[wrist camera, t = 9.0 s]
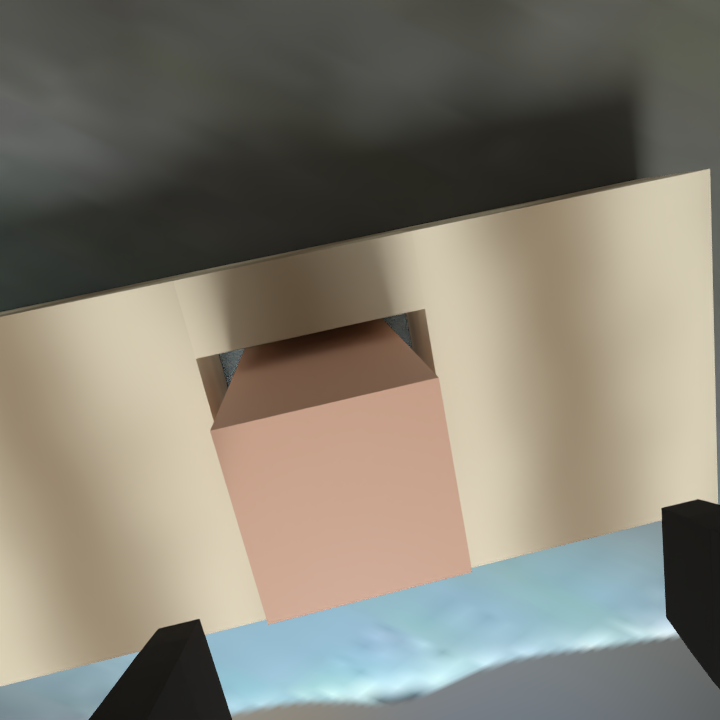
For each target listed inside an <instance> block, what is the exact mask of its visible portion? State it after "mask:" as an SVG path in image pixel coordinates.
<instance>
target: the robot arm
mask: <svg viewBox="0 0 720 720" xmlns="http://www.w3.org/2000/svg"><path fill="white" fill-rule="evenodd" d="M661 510H662V532H663V555H664V577H665V599H666V617H667V619H668V620H669V622H670V623H671V624H672V626H673V627H674V629H675V630H676V631H677V633H678V634H679V636H680V637H681V638H682V640H683V641H684V643H685V644H686V645H687V647H688V648H689V650H690V651H691V653H692V654H693V655H694V657H695V658H696V659H697V660H698V662H699V663H700V664H701V666H702V667H703V669H704V670H705V671H706V672H707V673H708V675H709V677H710V678H711V679H712V681H713V682H714V683H715V684H716V685H717V686H718V688H719V689H720V505H718V504H715V503H711V502H708V501H704V500H700V499H697V500H692V501H688V502H684V503H680V504H676V505H672V506H667V507H663V508H661ZM89 720H232V718H231V715H230V712H229V709H228V705H227V702H226V699H225V696H224V693H223V690H222V687H221V684H220V681H219V677H218V674H217V671H216V668H215V665H214V662H213V659H212V656H211V653H210V650H209V646H208V643H207V640H206V637H205V634H204V631H203V628H202V625H201V622H200V619H196V620H192V621H188V622H184V623H179V624H175V625H171V626H167V627H163V628H159V629H158V630H157V631H156V632H155V633H154V635H153V636H152V637H151V638H150V640H149V641H148V642H147V643H146V645H145V646H144V647H143V649H142V650H141V651H140V652H139V654H138V655H137V656H136V658H135V659H134V660H133V662H132V663H131V664H130V666H129V667H128V668H127V670H126V671H125V672H124V674H123V675H122V676H121V678H120V679H119V680H118V682H117V683H116V684H115V686H114V687H113V688H112V690H111V691H110V692H109V694H108V695H107V696H106V698H105V699H104V700H103V702H102V703H101V704H100V706H99V707H98V708H97V709H96V711H95V712H94V713H93V715H92V716H91V717H90V719H89Z"/></svg>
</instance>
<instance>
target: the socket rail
mask: <svg viewBox="0 0 720 720" xmlns="http://www.w3.org/2000/svg"><path fill="white" fill-rule="evenodd" d="M403 313H406V316H407V322H408V328H409V333H410V339H411V344H412V350H413V351H414V352H415V353H416V354H417V355H418V356H419V357H420V358H421V360H422V361H423V362H424V363H425V364H426V365H427V366H428V367H429V368H430V369H431V370H432V371H433V372H434V373H435V374H436V375H437V376H438V377H439V382H440V388H441V394H442V399H443V405H444V411H445V417H446V423H447V428H448V434H449V440H450V446H451V452H452V457H453V463H454V469H455V475H456V481H457V486H458V492H459V498H460V504H461V510H462V515H463V521H464V527H465V533H466V539H467V544H468V550H469V556H470V562H471V568H473V567H477V566H481V565H485V564H489V563H493V562H497V561H501V560H505V559H509V558H513V557H517V556H521V555H525V554H529V553H533V552H537V551H541V550H545V549H549V548H553V547H557V546H561V545H565V544H569V543H573V542H577V541H581V540H585V539H589V538H593V537H597V536H601V535H605V534H609V533H612V532H616V531H620V530H624V529H628V528H632V527H636V526H640V525H644V524H648V523H652V522H656V521H660V520H662V510H661V508H663V507H667V506H672V505H676V504H680V503H684V502H688V501H692V500H697V499H700V500H704V501H708V502H711V503H715V504H718V485H717V443H716V401H715V359H714V317H713V275H712V233H711V191H710V169H706V170H699V171H692V172H685V173H678V174H671V175H664V176H657V177H650V178H643V179H637V180H632V181H627V182H623V183H618V184H613V185H608V186H603V187H599V188H594V189H589V190H584V191H579V192H574V193H570V194H565V195H560V196H555V197H550V198H546V199H541V200H536V201H531V202H526V203H522V204H517V205H512V206H507V207H502V208H498V209H493V210H488V211H483V212H478V213H474V214H469V215H464V216H459V217H454V218H450V219H445V220H440V221H435V222H430V223H425V224H421V225H416V226H411V227H406V228H401V229H397V230H392V231H387V232H382V233H377V234H373V235H368V236H363V237H358V238H353V239H349V240H344V241H339V242H334V243H329V244H325V245H320V246H315V247H310V248H305V249H301V250H296V251H291V252H286V253H281V254H276V255H272V256H267V257H262V258H257V259H252V260H248V261H243V262H238V263H233V264H228V265H224V266H219V267H214V268H209V269H204V270H200V271H195V272H190V273H185V274H180V275H176V276H171V277H166V278H161V279H156V280H152V281H147V282H142V283H137V284H132V285H127V286H123V287H118V288H113V289H108V290H103V291H99V292H94V293H89V294H84V295H79V296H75V297H70V298H65V299H60V300H55V301H51V302H46V303H41V304H36V305H31V306H27V307H22V308H17V309H12V310H7V311H3V312H0V686H4V685H8V684H12V683H16V682H20V681H24V680H28V679H31V678H35V677H39V676H43V675H47V674H51V673H55V672H59V671H63V670H67V669H71V668H75V667H79V666H83V665H87V664H91V663H95V662H99V661H103V660H107V659H111V658H115V657H119V656H123V655H127V654H131V653H135V652H139V651H141V650H142V649H143V647H144V646H145V645H146V643H147V642H148V641H149V640H150V638H151V637H152V636H153V635H154V633H155V632H156V631H157V630H158V629H159V628H163V627H167V626H171V625H175V624H179V623H184V622H188V621H192V620H196V619H200V622H201V625H202V628H203V631H204V634H205V635H207V634H211V633H215V632H219V631H223V630H226V629H230V628H234V627H238V626H242V625H246V624H250V623H254V622H258V621H262V620H266V616H265V613H264V610H263V606H262V603H261V600H260V596H259V593H258V589H257V586H256V583H255V579H254V576H253V573H252V569H251V566H250V563H249V559H248V556H247V553H246V549H245V546H244V543H243V539H242V536H241V533H240V529H239V526H238V523H237V519H236V516H235V513H234V509H233V506H232V503H231V499H230V496H229V493H228V489H227V486H226V483H225V479H224V476H223V473H222V469H221V466H220V463H219V459H218V456H217V453H216V449H215V446H214V443H213V439H212V436H211V433H210V430H211V427H212V425H213V423H214V420H215V418H216V415H217V413H218V411H219V408H220V406H221V404H222V401H223V399H224V397H225V394H226V392H227V389H228V386H227V382H226V379H225V375H224V371H223V368H222V364H221V361H220V357H219V354H220V353H224V352H229V351H233V350H238V349H242V348H247V347H252V346H256V345H261V344H265V343H270V342H275V341H279V340H284V339H288V338H293V337H297V336H302V335H307V334H311V333H316V332H320V331H325V330H329V329H334V328H339V327H343V326H348V325H352V324H357V323H362V322H366V321H371V320H375V319H380V318H384V317H389V316H394V315H398V314H403Z"/></svg>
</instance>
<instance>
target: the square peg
mask: <svg viewBox="0 0 720 720" xmlns="http://www.w3.org/2000/svg"><path fill="white" fill-rule="evenodd" d="M210 433H211V436H212V439H213V443H214V446H215V449H216V453H217V456H218V459H219V463H220V466H221V469H222V473H223V476H224V479H225V483H226V486H227V489H228V493H229V496H230V499H231V503H232V506H233V509H234V513H235V516H236V519H237V523H238V526H239V529H240V533H241V536H242V539H243V543H244V546H245V549H246V553H247V556H248V559H249V563H250V566H251V569H252V573H253V576H254V579H255V583H256V586H257V589H258V593H259V596H260V600H261V603H262V606H263V610H264V613H265V616H266V620H267V623H268V624H272V623H276V622H280V621H284V620H288V619H292V618H296V617H300V616H303V615H307V614H311V613H315V612H319V611H323V610H327V609H331V608H334V607H338V606H342V605H346V604H350V603H354V602H358V601H362V600H365V599H369V598H373V597H377V596H381V595H385V594H389V593H393V592H396V591H400V590H404V589H408V588H412V587H416V586H420V585H424V584H427V583H431V582H435V581H439V580H443V579H447V578H451V577H455V576H458V575H462V574H466V573H470V572H472V568H471V562H470V556H469V550H468V544H467V539H466V533H465V527H464V521H463V515H462V510H461V504H460V498H459V492H458V486H457V481H456V475H455V469H454V463H453V457H452V452H451V446H450V440H449V434H448V428H447V423H446V417H445V411H444V405H443V399H442V394H441V388H440V382H439V377H438V376H437V375H436V374H435V373H434V372H433V371H432V370H431V369H430V368H429V367H428V366H427V365H426V364H425V363H424V362H423V361H422V360H421V358H420V357H419V356H418V355H417V354H416V353H415V352H414V351H413V350H412V349H411V348H410V347H409V346H408V345H407V344H406V343H405V342H404V341H403V340H402V339H401V338H400V337H399V336H398V334H397V333H396V332H395V331H394V330H393V329H392V328H391V327H390V326H389V325H388V324H387V323H386V322H385V321H384V320H383V319H382V318H380V319H375V320H371V321H366V322H362V323H357V324H352V325H348V326H343V327H339V328H334V329H330V330H325V331H321V332H316V333H312V334H307V335H303V336H298V337H294V338H290V339H285V340H281V341H276V342H272V343H267V344H263V345H258V346H254V347H249V348H245V349H244V352H243V354H242V356H241V359H240V361H239V364H238V366H237V368H236V371H235V373H234V375H233V378H232V380H231V382H230V385H229V387H228V389H227V392H226V394H225V397H224V399H223V401H222V404H221V406H220V408H219V411H218V413H217V415H216V418H215V420H214V423H213V425H212V427H211V430H210Z"/></svg>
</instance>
